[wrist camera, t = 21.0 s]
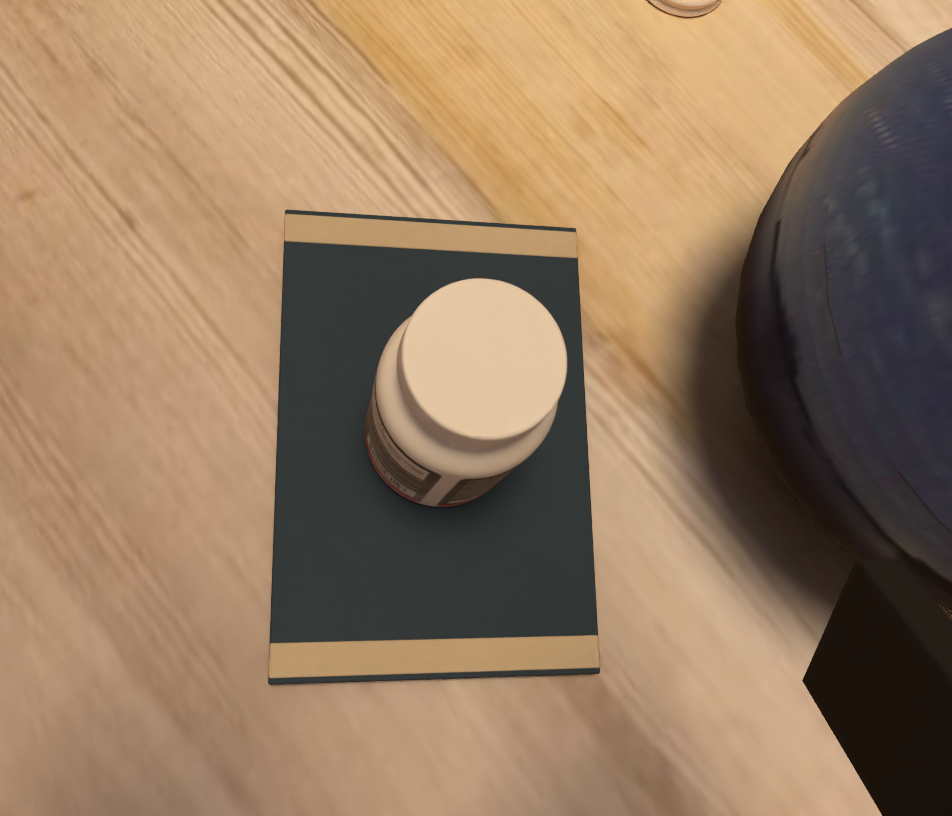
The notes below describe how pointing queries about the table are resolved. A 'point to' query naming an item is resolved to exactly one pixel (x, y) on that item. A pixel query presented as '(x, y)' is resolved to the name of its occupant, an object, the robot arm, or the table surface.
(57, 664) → the table surface
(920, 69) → the decorative sphere
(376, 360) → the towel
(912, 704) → the robot arm
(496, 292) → the pill bottle
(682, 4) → the chess piece
